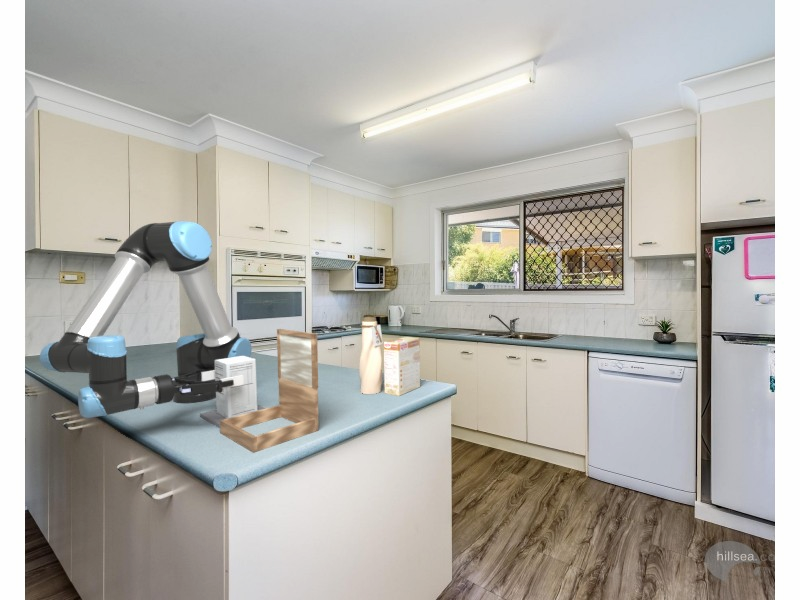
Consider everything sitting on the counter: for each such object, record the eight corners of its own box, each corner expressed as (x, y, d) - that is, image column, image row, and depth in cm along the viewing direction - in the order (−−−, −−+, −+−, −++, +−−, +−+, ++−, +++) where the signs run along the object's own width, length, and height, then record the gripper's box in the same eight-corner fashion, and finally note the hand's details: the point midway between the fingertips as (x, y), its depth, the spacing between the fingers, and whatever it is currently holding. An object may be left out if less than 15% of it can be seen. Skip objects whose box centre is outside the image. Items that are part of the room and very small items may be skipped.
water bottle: (390, 390, 147) (389, 317, 146) (376, 396, 140) (375, 319, 139) (368, 387, 153) (367, 316, 152) (354, 392, 145) (352, 318, 144)
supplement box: (245, 406, 128) (244, 355, 127) (258, 412, 121) (257, 358, 121) (215, 413, 121) (213, 359, 120) (227, 420, 114) (225, 363, 114)
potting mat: (221, 429, 110) (221, 425, 110) (199, 416, 121) (199, 413, 121) (273, 414, 122) (273, 411, 121) (249, 404, 132) (249, 401, 132)
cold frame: (253, 452, 94) (250, 341, 93) (220, 432, 107) (217, 335, 106) (319, 430, 108) (317, 333, 107) (282, 415, 121) (280, 329, 120)
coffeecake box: (405, 384, 156) (405, 336, 156) (421, 387, 152) (420, 337, 152) (383, 393, 144) (382, 341, 143) (399, 396, 140) (398, 342, 139)
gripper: (140, 396, 112) (215, 381, 128) (170, 414, 96) (252, 395, 111) (139, 370, 112) (215, 359, 128) (169, 384, 95) (251, 369, 111)
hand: (232, 376), depth 120 cm, fingers open, 13 cm apart
